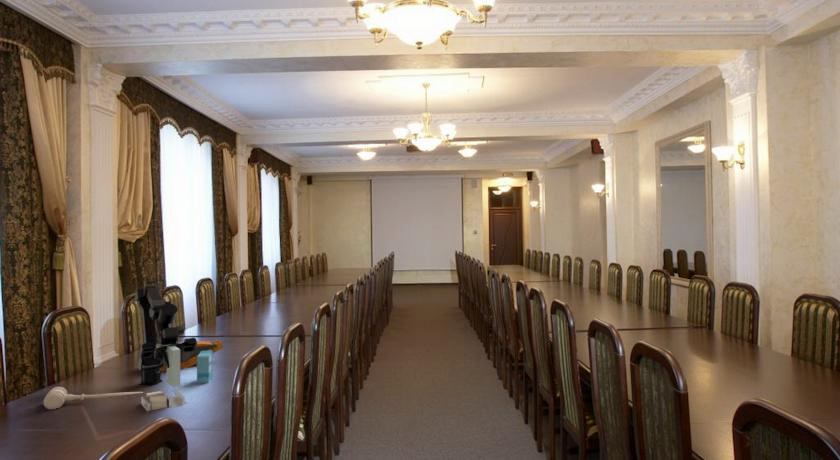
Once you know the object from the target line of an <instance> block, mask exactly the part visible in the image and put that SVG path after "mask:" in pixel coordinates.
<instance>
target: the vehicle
mask: <svg viewBox="0 0 840 460" xmlns="http://www.w3.org/2000/svg"><path fill="white" fill-rule="evenodd" d="M224 348H225V347H224V345H223V343H222V341H220V340H219V339H217V340H215V341H205V340H204V341H202V340H201V341H199V340H197V345H196V347H195V350H194V351H193V352H184V351H183V354H182V355H180V370H182V369H188V368H191V367H192V366H194V365H197V356H198V355H199V354H200V352H201V351H213V356H214V354H215V353H216V352H218V351H220V350H223V349H224ZM166 355H167V350H166ZM165 371H166V372H167V367H166V366H165V365H164V364H163V367H162V368H161V367H160V372H165Z"/></svg>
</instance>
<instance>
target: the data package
mask: <svg viewBox="0 0 840 460" xmlns="http://www.w3.org/2000/svg"><path fill="white" fill-rule="evenodd" d="M213 354H214V353H213V351H201V352H200V354H199V355H198V356H197V363H196V384H210V381H212V379H213V377H214V373H213V372H214V368H213V367H214V365H213V362H214V355H213Z"/></svg>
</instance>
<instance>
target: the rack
mask: <svg viewBox="0 0 840 460" xmlns="http://www.w3.org/2000/svg"><path fill="white" fill-rule="evenodd" d="M163 393H164V394H165V395H166V396H167V406H166V407H161V408H156V409H151V408H150V402H149V401H148V400H147V399H146V396H144V395H143V396H141V404H140V405H141V406H142V407H143V408H144V409H145V410H146V412H150V411H155V410H160V409H166V408H171V407H175V406H181V405H182V406H183V405H186V404H188V402H187V401H186V400H185V398H186V397H185V395H183V394H182V393H181V392H180V391H178V389H177V390H174V397H170V396H169V395H168V394H167V393H166V392H163Z"/></svg>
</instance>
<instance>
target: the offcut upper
mask: <svg viewBox="0 0 840 460" xmlns="http://www.w3.org/2000/svg"><path fill="white" fill-rule="evenodd" d="M164 393H165V392H163V391H162V390H160V391H159V390H158V391H153V392H148V393H146V394H145V395H146V396H145V398H146V399H147V400H148V401H149V402H150V403H151V404H155V403H160V402H165V401H167V396H166V395H165V394H166V393H165V394H164Z"/></svg>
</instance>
